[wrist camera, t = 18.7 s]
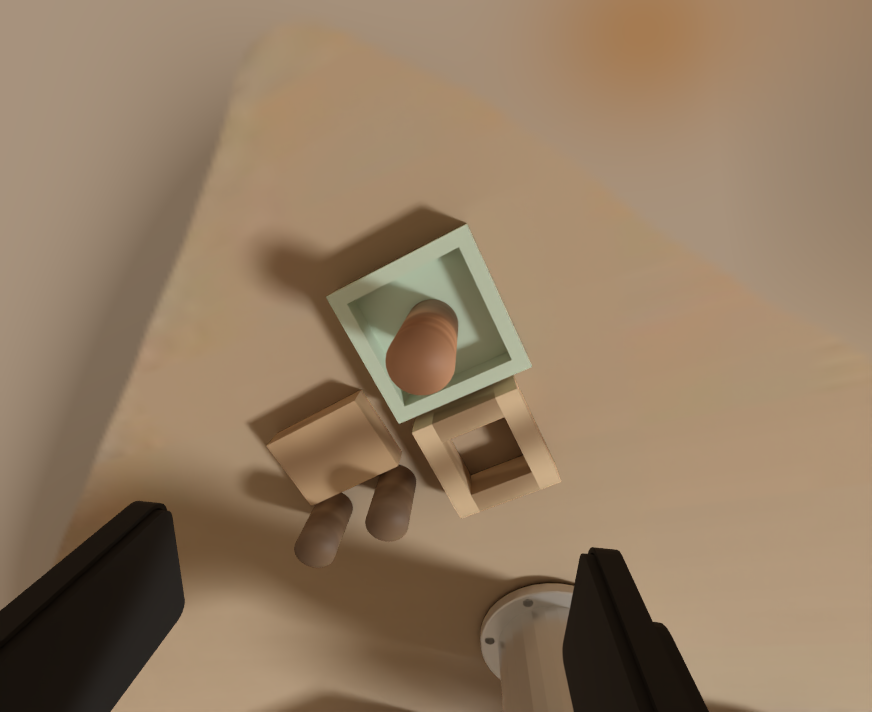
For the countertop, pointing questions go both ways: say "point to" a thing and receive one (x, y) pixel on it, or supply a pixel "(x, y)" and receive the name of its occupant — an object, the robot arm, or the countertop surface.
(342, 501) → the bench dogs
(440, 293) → the tray
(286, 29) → the countertop surface
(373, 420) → the tan cardboard carton
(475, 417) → the socket block
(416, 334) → the dowel
